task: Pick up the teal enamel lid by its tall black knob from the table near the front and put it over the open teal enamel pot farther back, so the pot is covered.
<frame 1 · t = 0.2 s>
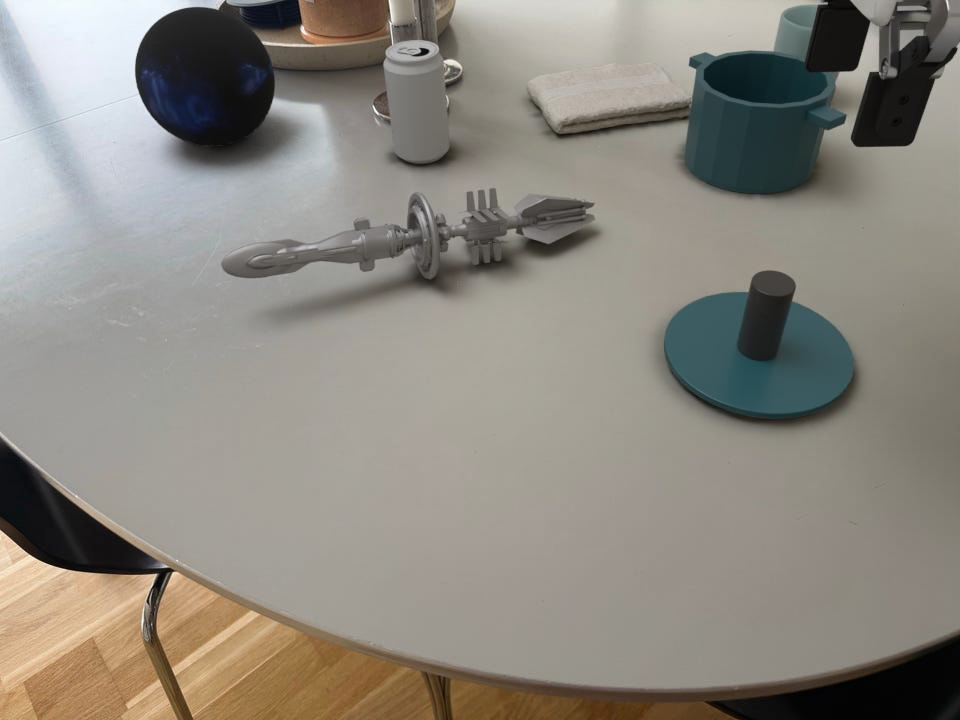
hand: (853, 104, 48), 23 cm above the table, tool pointing down, fingers open, 9 cm apart
spaceship: (424, 273, 77), on the table
beverage can: (422, 154, 94), on the table
decorative sphere: (223, 140, 98), on the table
washcloth: (608, 109, 100), on the table
lid: (755, 353, 66), point 1 cm above the table
pot: (747, 161, 89), on the table
cup: (797, 101, 100), on the table
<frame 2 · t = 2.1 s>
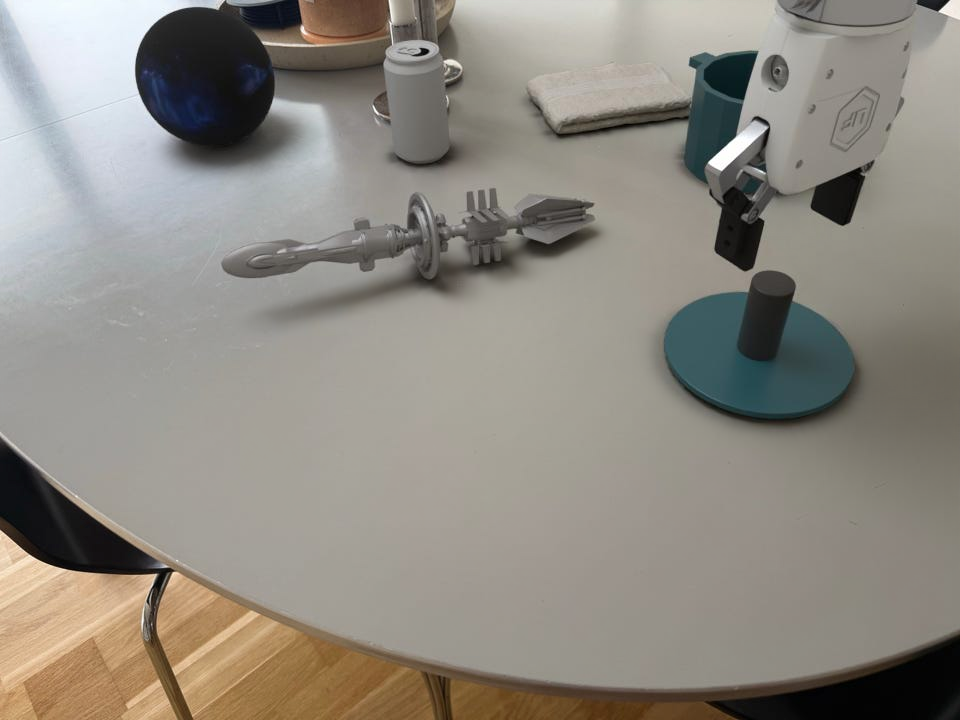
hand: (782, 238, 58), 12 cm above the table, tool pointing down, fingers open, 9 cm apart
nothing on the table moved.
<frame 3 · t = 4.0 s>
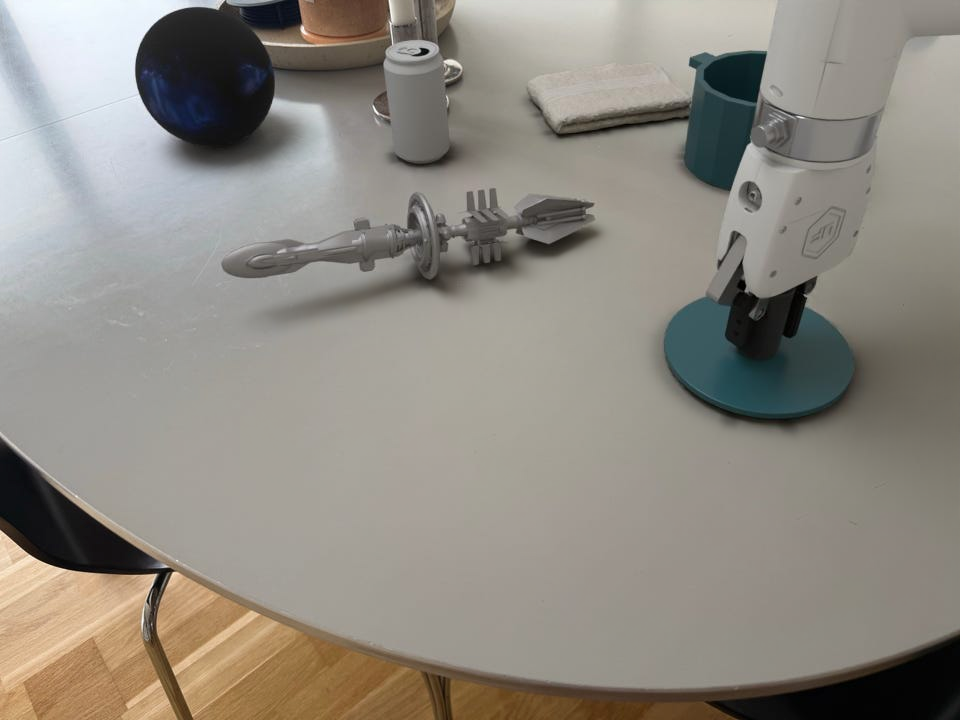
hand: (760, 335, 65), 2 cm above the table, tool pointing down, fingers closed on lid, 3 cm apart
lid: (755, 353, 66), point 1 cm above the table, touching gripper
everything else where it was.
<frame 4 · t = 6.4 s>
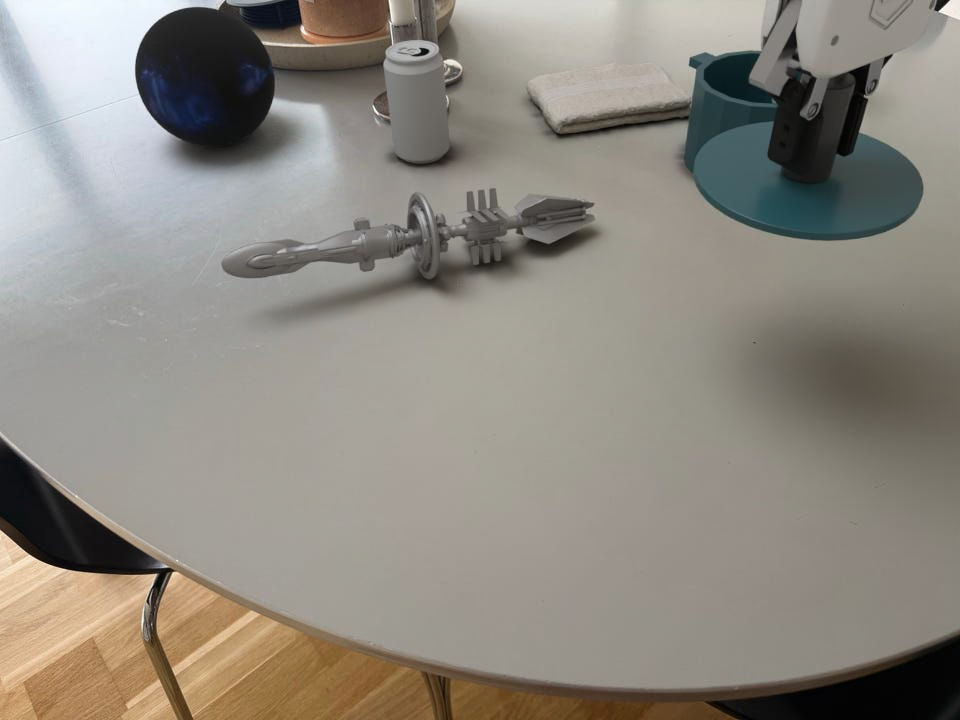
hand: (809, 154, 54), 18 cm above the table, tool pointing down, fingers closed on lid, 3 cm apart
lid: (803, 179, 55), point 16 cm above the table, touching gripper
everything else where it was.
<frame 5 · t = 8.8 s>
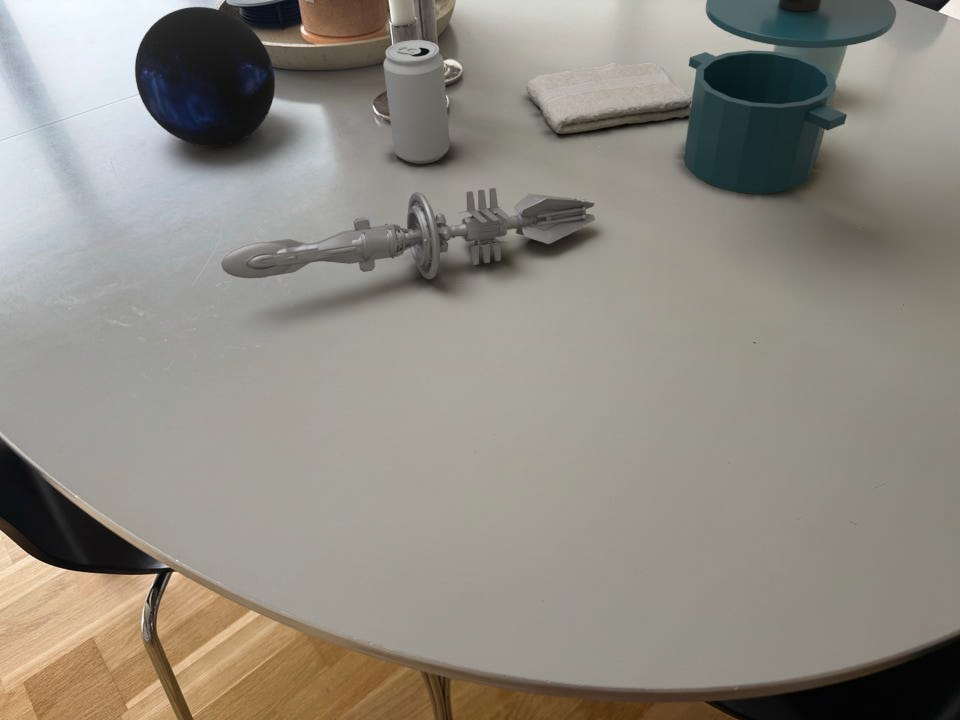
lid: (797, 12, 66), point 20 cm above the table, touching gripper
everything else where it was.
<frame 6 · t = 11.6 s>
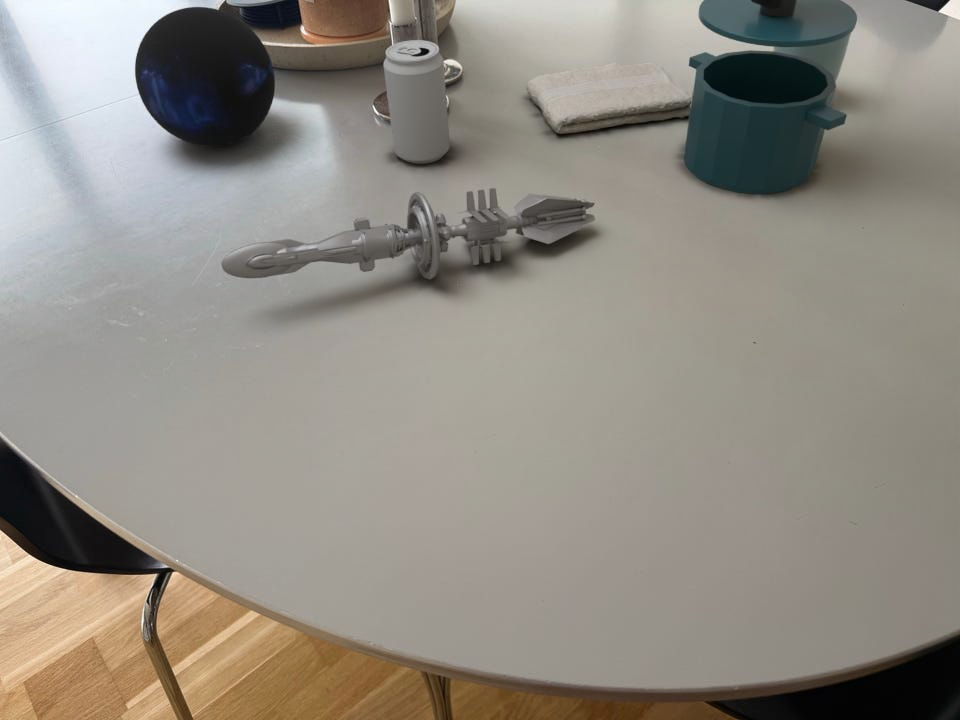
lid: (775, 17, 79), point 15 cm above the table, touching gripper
everything else where it was.
when the fingers open (11 cm above the table, at t = 13.6 s): lid stays where it is, resting on pot.
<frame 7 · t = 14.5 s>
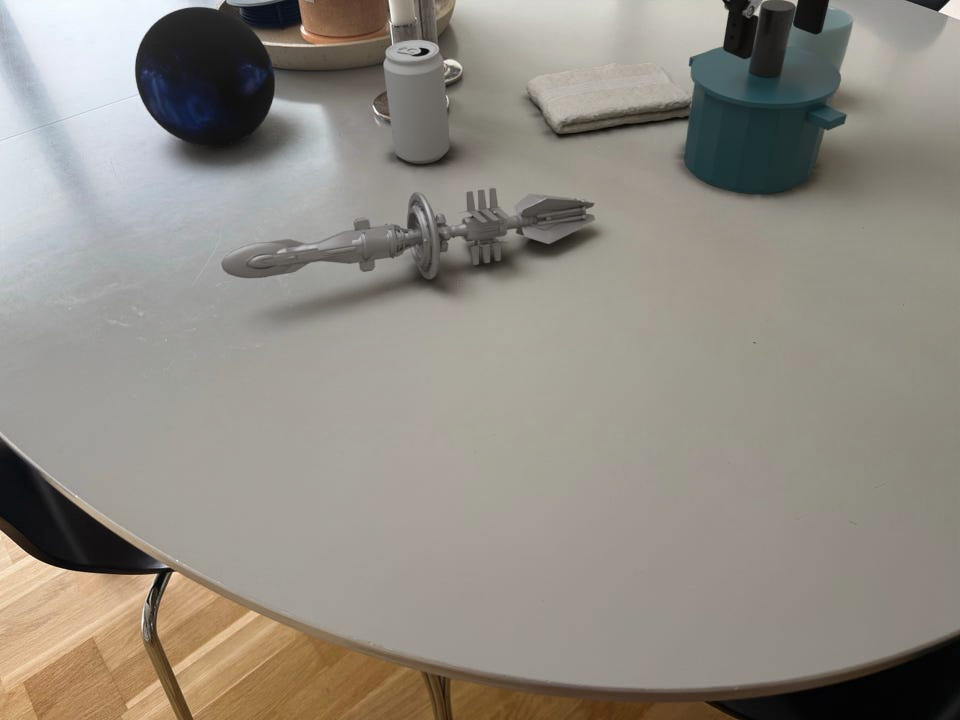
hand: (772, 42, 81), 13 cm above the table, tool pointing down, fingers open, 9 cm apart
lid: (763, 76, 83), point 9 cm above the table, touching pot
everything else where it was.
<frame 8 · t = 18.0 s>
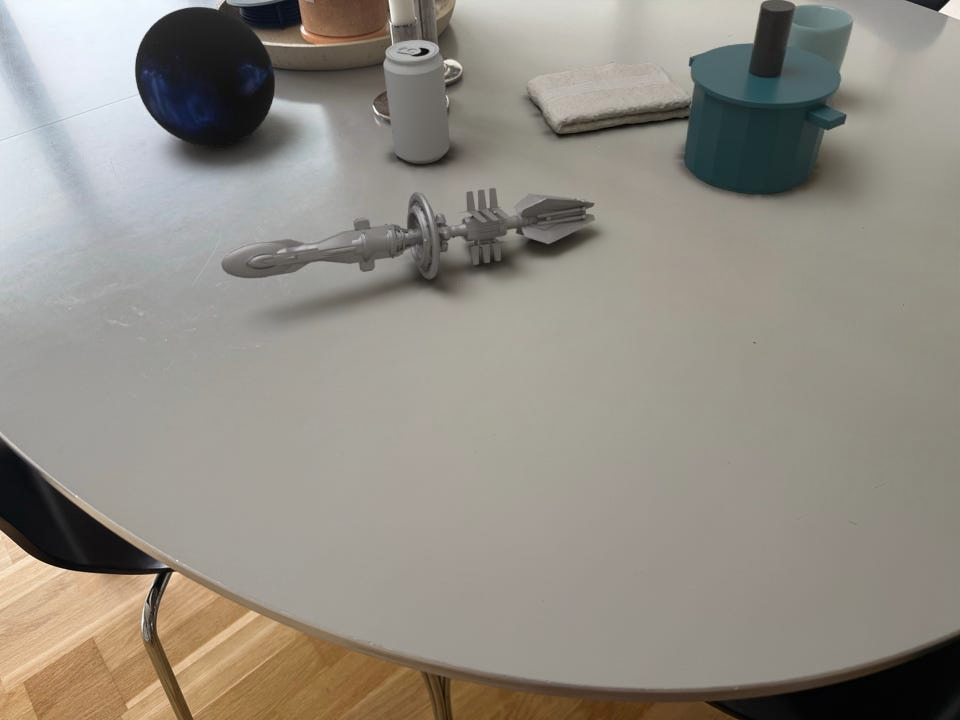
nothing on the table moved.
at the end: lid 0.1 cm off-centre on the pot, point 9.5 cm above the pot's base; lid tilted 0°; the gripper is holding nothing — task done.
